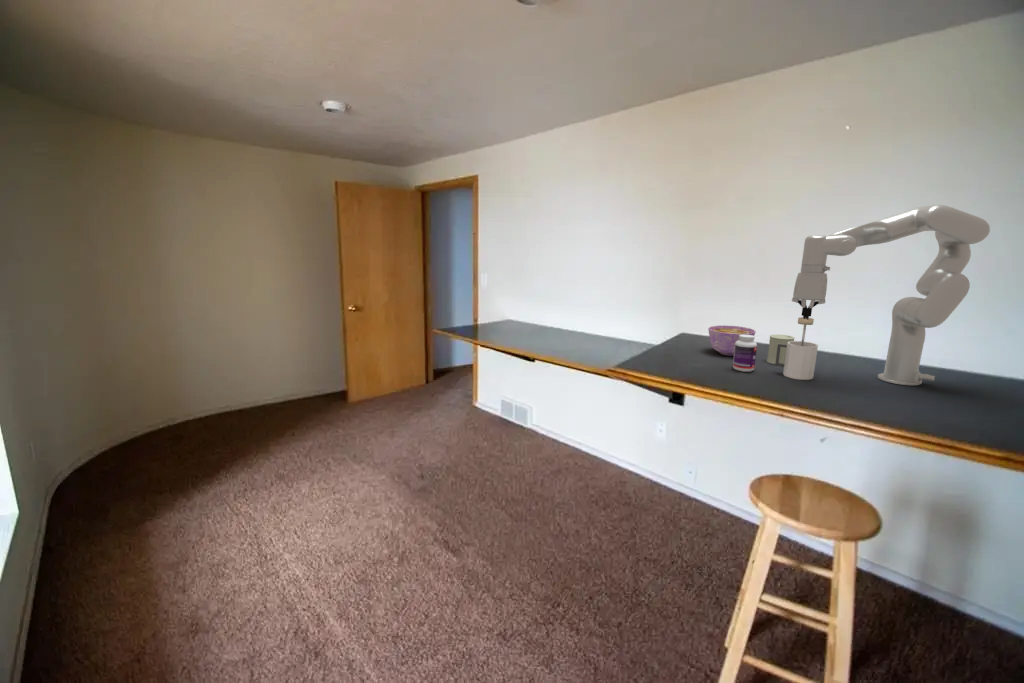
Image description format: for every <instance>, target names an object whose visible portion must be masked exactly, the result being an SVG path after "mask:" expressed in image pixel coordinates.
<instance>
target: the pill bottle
mask: <svg viewBox="0 0 1024 683" xmlns="http://www.w3.org/2000/svg"><path fill="white" fill-rule="evenodd" d="M739 339H740V340H738V341H736V343H735V350H734V356H733V362H732V367H733V370H735V371H738V372H742V373H743V372H746V373H748V372H749V373H750V372H753V371H754V370H755V368H756V361H757V360H756V359H757V350H758V344H757V342H756V341H755V335H754V336H752V335H739Z"/></svg>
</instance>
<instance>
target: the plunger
mask: <svg viewBox="0 0 1024 683" xmlns="http://www.w3.org/2000/svg"><path fill="white" fill-rule="evenodd" d="M814 322H815V319H814V318H811V317H809V318H808V319H806V318H803V317H798V318H797V324H798V325H803V328H802V337H801V341H802V342H801V346H804V342H805V338H806V330H807V326H812V325H814Z"/></svg>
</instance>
